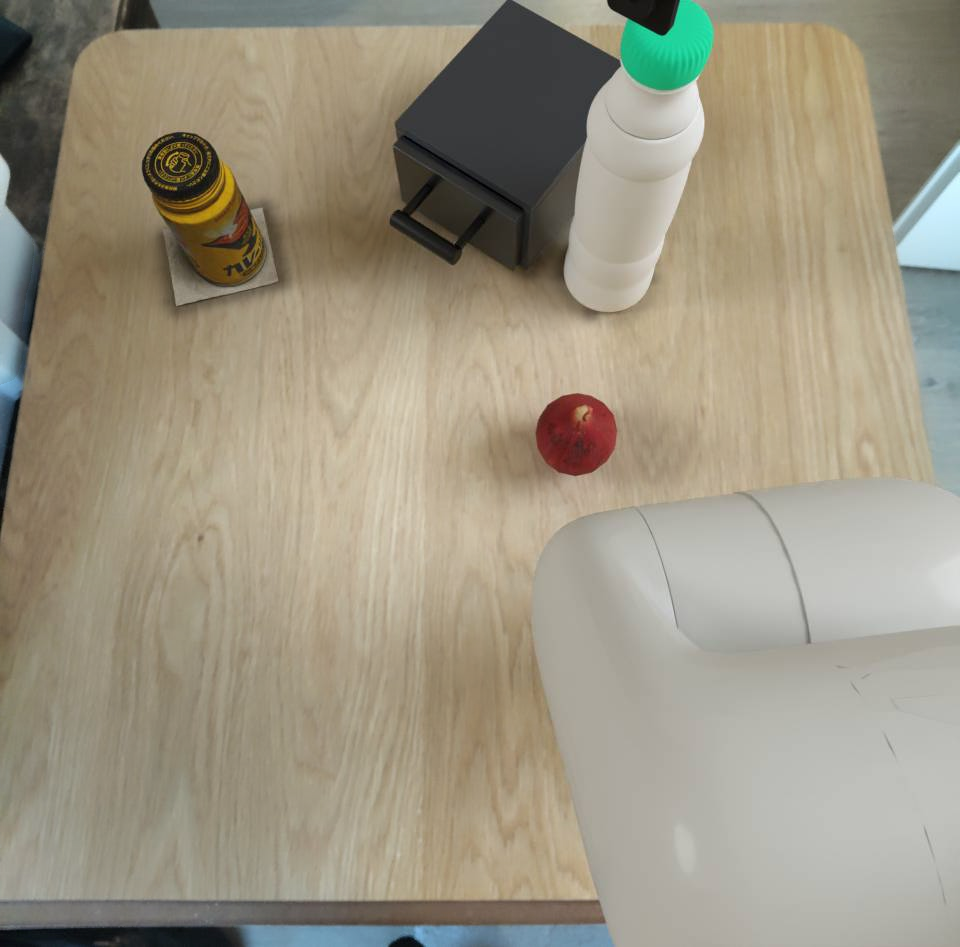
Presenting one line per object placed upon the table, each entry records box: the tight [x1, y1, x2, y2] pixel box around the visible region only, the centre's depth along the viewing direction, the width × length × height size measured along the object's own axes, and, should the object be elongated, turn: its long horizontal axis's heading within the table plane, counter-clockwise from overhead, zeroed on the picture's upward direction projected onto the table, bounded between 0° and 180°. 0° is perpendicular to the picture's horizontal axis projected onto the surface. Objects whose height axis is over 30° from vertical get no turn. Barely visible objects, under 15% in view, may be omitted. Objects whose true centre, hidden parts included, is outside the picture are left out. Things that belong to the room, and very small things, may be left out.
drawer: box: [388, 136, 524, 272], centre depth 63 cm, size 18×11×7 cm, turn 144°
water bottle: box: [563, 0, 715, 313], centre depth 53 cm, size 7×7×25 cm
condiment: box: [141, 131, 279, 307], centre depth 61 cm, size 7×8×12 cm
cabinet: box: [394, 0, 621, 272], centre depth 64 cm, size 15×13×9 cm
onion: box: [535, 392, 618, 477], centre depth 57 cm, size 6×6×8 cm
